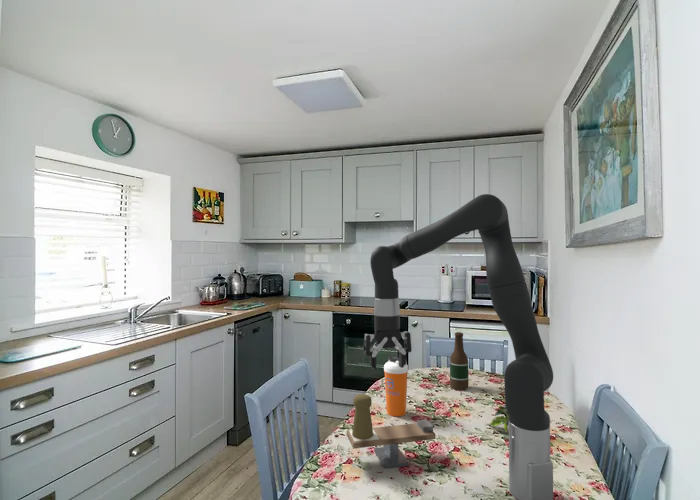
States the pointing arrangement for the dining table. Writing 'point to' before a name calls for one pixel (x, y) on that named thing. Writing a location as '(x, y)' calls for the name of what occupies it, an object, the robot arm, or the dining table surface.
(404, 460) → the pivot stand
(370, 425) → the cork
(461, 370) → the beer bottle
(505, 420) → the passion flower
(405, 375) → the shaker bottle
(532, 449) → the robot arm
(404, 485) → the dining table surface
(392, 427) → the seesaw board
